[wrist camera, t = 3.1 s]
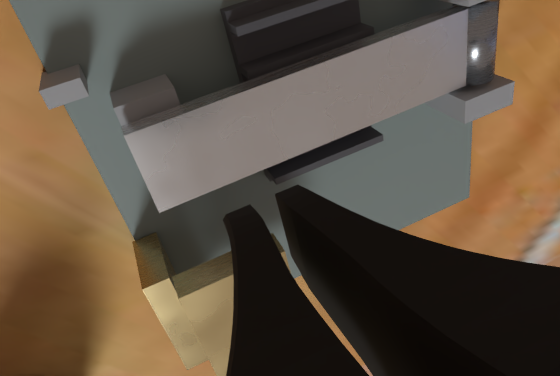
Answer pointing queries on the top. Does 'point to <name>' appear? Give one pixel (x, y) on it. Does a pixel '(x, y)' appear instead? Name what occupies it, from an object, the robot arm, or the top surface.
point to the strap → (311, 102)
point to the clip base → (233, 70)
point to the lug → (191, 302)
